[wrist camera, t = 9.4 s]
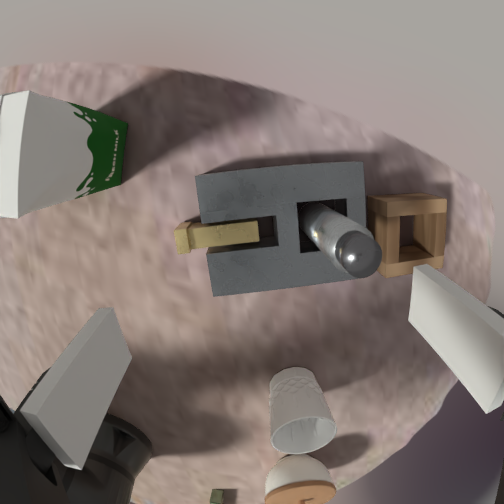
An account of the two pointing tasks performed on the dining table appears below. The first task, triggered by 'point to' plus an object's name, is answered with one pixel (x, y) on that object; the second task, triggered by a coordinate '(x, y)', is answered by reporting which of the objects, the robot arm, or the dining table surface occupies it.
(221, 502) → the medication box
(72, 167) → the milk carton
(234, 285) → the socket block
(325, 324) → the dining table surface
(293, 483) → the lidded bowl
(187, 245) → the bar
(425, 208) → the tan wooden open box
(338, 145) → the dining table surface
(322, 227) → the grey cylindrical rod
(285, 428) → the white cup
